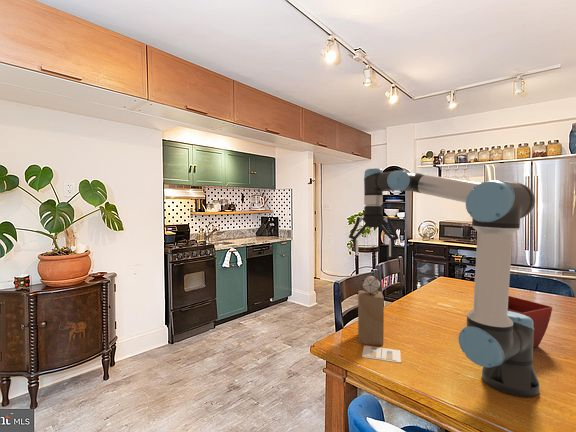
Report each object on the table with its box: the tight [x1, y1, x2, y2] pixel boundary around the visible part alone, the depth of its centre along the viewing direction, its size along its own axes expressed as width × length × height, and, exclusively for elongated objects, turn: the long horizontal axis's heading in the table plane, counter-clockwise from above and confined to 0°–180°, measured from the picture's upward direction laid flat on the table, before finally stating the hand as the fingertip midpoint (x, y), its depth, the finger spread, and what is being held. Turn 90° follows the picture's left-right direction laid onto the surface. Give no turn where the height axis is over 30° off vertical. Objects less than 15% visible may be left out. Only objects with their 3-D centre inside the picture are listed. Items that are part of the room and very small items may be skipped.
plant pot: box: [508, 295, 553, 348], centre depth 131 cm, size 19×19×17 cm
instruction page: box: [361, 345, 402, 364], centre depth 121 cm, size 10×14×1 cm
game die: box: [360, 274, 383, 295], centre depth 133 cm, size 9×8×10 cm
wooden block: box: [357, 290, 385, 346], centre depth 134 cm, size 10×10×20 cm
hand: (373, 255), depth 133 cm, fingers open, 13 cm apart
